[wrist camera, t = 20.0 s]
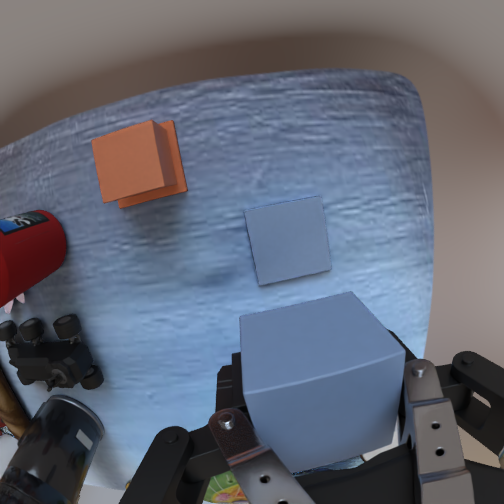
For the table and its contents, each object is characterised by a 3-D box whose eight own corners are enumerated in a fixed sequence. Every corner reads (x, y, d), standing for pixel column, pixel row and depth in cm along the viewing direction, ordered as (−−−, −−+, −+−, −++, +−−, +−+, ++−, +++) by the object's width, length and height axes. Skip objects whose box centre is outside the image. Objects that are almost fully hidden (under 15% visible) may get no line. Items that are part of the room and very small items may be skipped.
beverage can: (48, 195, 25) (-33, 212, 13) (81, 249, 26) (9, 293, 15) (15, 232, 25) (-60, 262, 14) (45, 282, 27) (-22, 331, 15)
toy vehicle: (111, 372, 30) (85, 422, 22) (27, 373, 30) (-3, 410, 21) (84, 310, 28) (45, 352, 19) (2, 320, 28) (-37, 352, 19)
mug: (18, 436, 33) (-3, 472, 23) (40, 462, 35) (23, 498, 25) (-14, 426, 33) (-35, 456, 23) (5, 452, 35) (-12, 482, 25)
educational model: (187, 443, 33) (184, 475, 28) (304, 447, 35) (312, 477, 29) (188, 482, 37) (186, 508, 32) (284, 485, 38) (289, 510, 33)
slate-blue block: (260, 399, 14) (270, 477, 9) (238, 315, 13) (242, 393, 8) (355, 376, 14) (392, 444, 9) (351, 290, 13) (407, 350, 8)
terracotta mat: (121, 208, 26) (119, 208, 25) (108, 141, 24) (105, 140, 23) (187, 190, 26) (186, 191, 25) (173, 121, 24) (172, 120, 23)
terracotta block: (125, 198, 25) (103, 203, 20) (114, 145, 24) (90, 140, 19) (177, 184, 25) (165, 186, 20) (166, 129, 24) (151, 119, 19)
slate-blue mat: (258, 283, 28) (259, 285, 28) (243, 210, 26) (243, 211, 26) (330, 267, 28) (331, 269, 28) (319, 195, 27) (321, 196, 26)
